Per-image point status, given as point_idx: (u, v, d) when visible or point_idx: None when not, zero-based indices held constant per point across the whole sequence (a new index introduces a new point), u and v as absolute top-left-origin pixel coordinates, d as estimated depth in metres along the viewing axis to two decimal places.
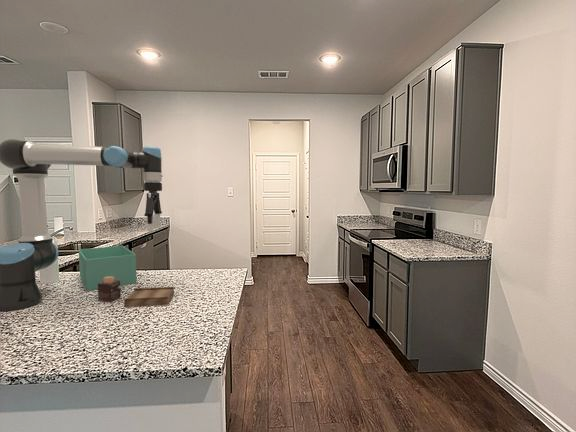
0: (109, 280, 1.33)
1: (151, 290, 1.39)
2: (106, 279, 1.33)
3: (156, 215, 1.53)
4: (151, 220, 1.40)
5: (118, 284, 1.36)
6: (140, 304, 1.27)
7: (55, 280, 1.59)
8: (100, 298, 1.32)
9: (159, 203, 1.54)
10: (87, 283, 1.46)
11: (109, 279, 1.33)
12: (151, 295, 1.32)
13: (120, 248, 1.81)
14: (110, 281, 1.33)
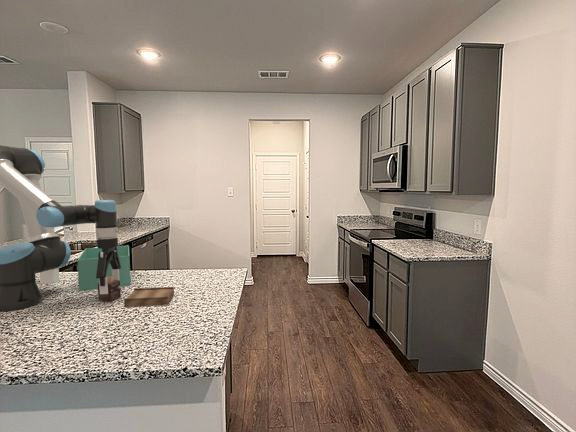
0: (108, 280, 1.33)
1: (151, 290, 1.39)
2: None
3: (114, 271, 1.41)
4: (104, 282, 1.27)
5: (118, 284, 1.36)
6: (140, 304, 1.27)
7: (55, 280, 1.59)
8: (100, 298, 1.32)
9: (117, 258, 1.41)
10: (79, 283, 1.46)
11: (109, 279, 1.33)
12: (151, 295, 1.32)
13: (126, 248, 1.82)
14: (110, 281, 1.33)
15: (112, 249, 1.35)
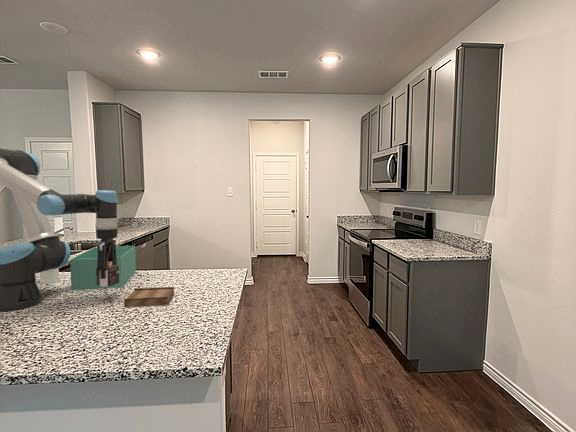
0: (107, 265, 1.33)
1: (151, 290, 1.39)
2: None
3: None
4: (104, 275, 1.30)
5: (117, 269, 1.36)
6: (140, 304, 1.27)
7: (55, 280, 1.59)
8: (99, 283, 1.32)
9: (115, 251, 1.40)
10: (72, 282, 1.47)
11: (107, 264, 1.33)
12: (151, 295, 1.32)
13: None
14: (108, 266, 1.33)
15: (111, 239, 1.35)
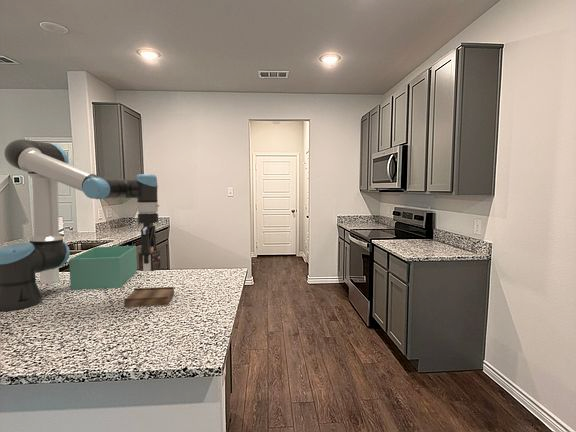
0: None
1: (151, 290, 1.39)
2: None
3: None
4: (148, 259, 1.28)
5: (158, 254, 1.34)
6: (140, 304, 1.27)
7: (55, 280, 1.59)
8: (141, 268, 1.30)
9: (155, 237, 1.38)
10: (71, 282, 1.47)
11: None
12: (151, 295, 1.32)
13: None
14: (150, 251, 1.31)
15: (152, 224, 1.34)
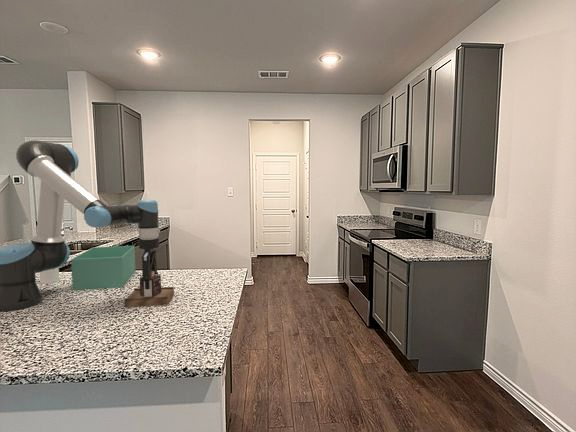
0: None
1: None
2: None
3: None
4: (149, 285, 1.29)
5: (159, 279, 1.35)
6: (140, 304, 1.27)
7: (55, 280, 1.59)
8: (142, 293, 1.31)
9: (155, 261, 1.39)
10: (73, 282, 1.46)
11: None
12: None
13: None
14: (151, 276, 1.32)
15: (153, 248, 1.35)
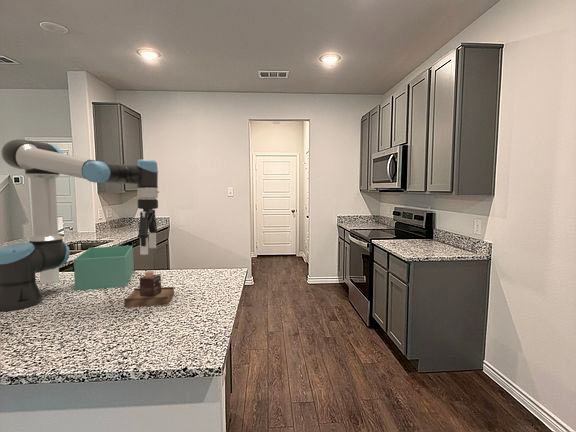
0: (150, 274, 1.32)
1: None
2: (148, 274, 1.32)
3: (151, 234, 1.39)
4: (145, 242, 1.25)
5: (159, 279, 1.35)
6: (140, 304, 1.27)
7: (55, 280, 1.59)
8: (142, 293, 1.31)
9: (155, 221, 1.39)
10: (75, 283, 1.46)
11: (151, 274, 1.32)
12: None
13: (130, 248, 1.81)
14: (152, 276, 1.32)
15: (151, 211, 1.33)
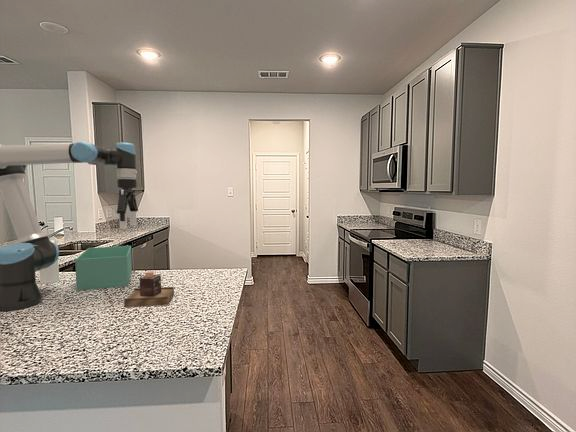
0: (150, 274, 1.32)
1: None
2: (148, 274, 1.32)
3: (132, 213, 1.50)
4: (124, 217, 1.37)
5: (159, 279, 1.35)
6: (140, 304, 1.27)
7: (55, 280, 1.59)
8: (142, 293, 1.31)
9: (135, 200, 1.51)
10: (77, 283, 1.46)
11: (151, 274, 1.32)
12: None
13: (128, 248, 1.81)
14: (152, 275, 1.32)
15: (131, 190, 1.45)
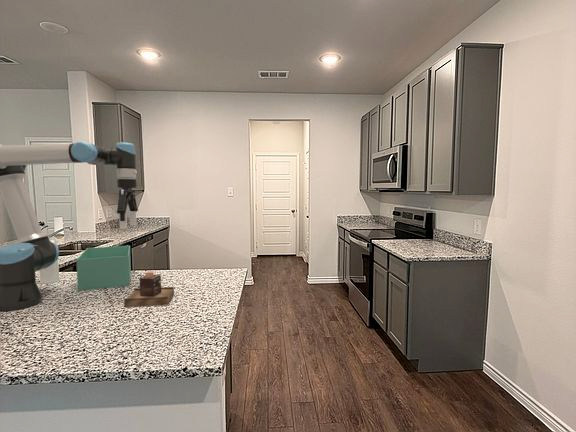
0: (151, 274, 1.32)
1: None
2: (148, 274, 1.32)
3: (131, 212, 1.51)
4: (124, 217, 1.37)
5: (159, 279, 1.35)
6: (140, 304, 1.27)
7: (55, 280, 1.59)
8: (142, 293, 1.31)
9: (135, 200, 1.51)
10: (78, 283, 1.46)
11: (151, 274, 1.32)
12: None
13: (127, 248, 1.82)
14: (152, 276, 1.32)
15: (131, 190, 1.45)
